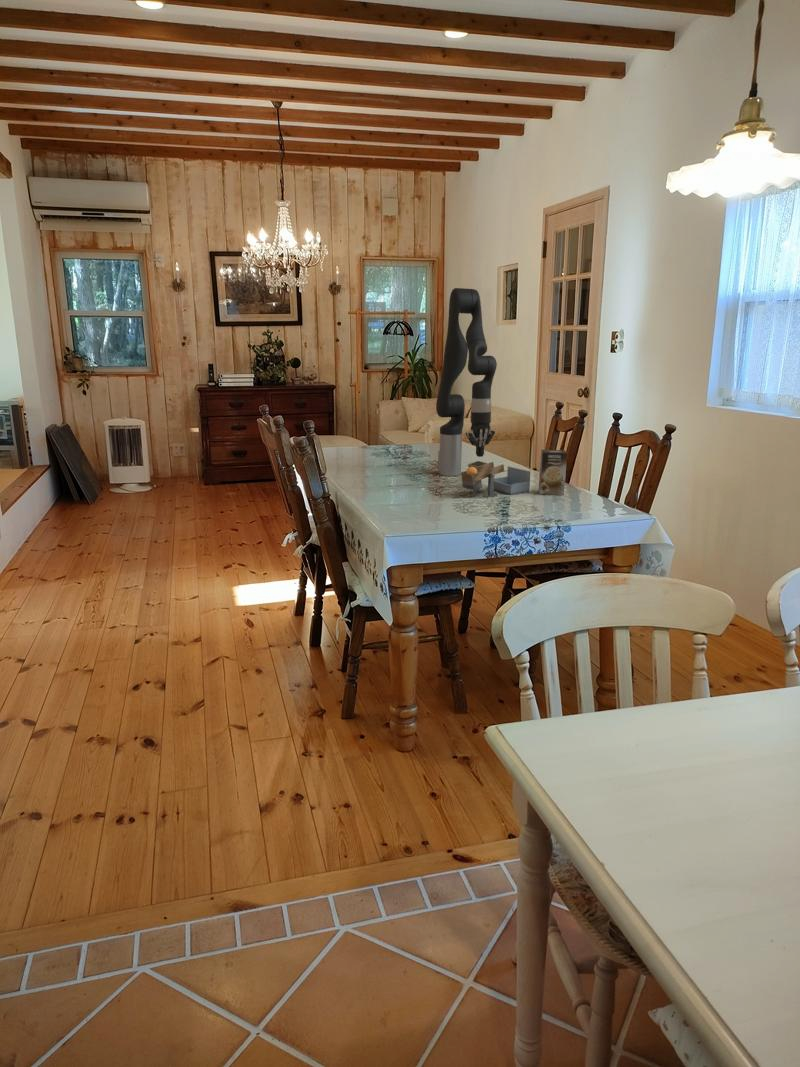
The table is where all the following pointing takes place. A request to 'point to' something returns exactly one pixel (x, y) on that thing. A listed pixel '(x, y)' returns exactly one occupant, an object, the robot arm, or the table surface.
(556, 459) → the coffee box
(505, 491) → the bin
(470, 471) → the ball
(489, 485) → the lever stand
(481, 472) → the lever chute
